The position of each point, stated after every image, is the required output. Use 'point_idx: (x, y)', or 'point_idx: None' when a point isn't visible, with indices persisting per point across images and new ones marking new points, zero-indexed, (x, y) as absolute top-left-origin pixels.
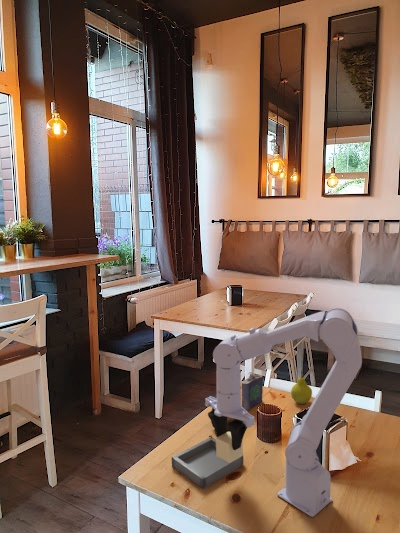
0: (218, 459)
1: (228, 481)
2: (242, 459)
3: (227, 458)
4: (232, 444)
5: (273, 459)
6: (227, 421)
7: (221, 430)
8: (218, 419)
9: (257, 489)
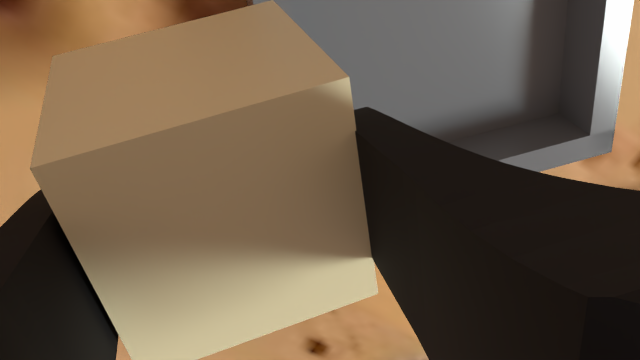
0: (418, 82)
1: (183, 22)
2: None
3: (89, 60)
4: (42, 215)
5: (239, 351)
6: None
7: (389, 229)
8: (500, 346)
9: (11, 155)
